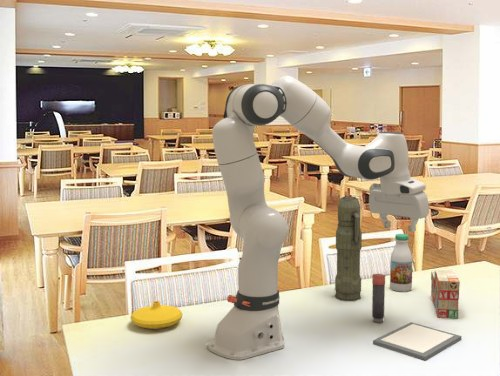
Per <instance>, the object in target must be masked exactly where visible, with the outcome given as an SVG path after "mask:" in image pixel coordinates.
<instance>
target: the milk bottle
mask: <svg viewBox="0 0 500 376" xmlns="http://www.w3.org/2000/svg"><path fill="white" fill-rule="evenodd" d="M409 237H410V236H409V235H408V234H406V233H397V234H395V238H394V239H395V244H394V247H393V250H392V251H391V255H390V265H389V288H390V290H391V291H395V292H404V293H405V292H410V291H411V290H412V287H413V254H412V252H411V250H410V249H411V248H410V246H409V240H410V239H409Z"/></svg>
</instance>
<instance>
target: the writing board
mask: <svg viewBox="0 0 500 376" xmlns="http://www.w3.org/2000/svg"><path fill="white" fill-rule="evenodd" d="M461 340H462V335H459V334H455V333H452V332H449V331H448V332H447V331H444V330H442V329H441V330H440V329H436V328H433V327H430V326H427V325H426V326H425V325H422V324H419V323H415V322H409V323H406V324H404V325H403V326H400V327H398V328H396V329H394V330H392V331H389V332H387V333H385V334H383V335H381V336H379V337H377V338H376V339H375V338H374V339H373V340H372V344H373V345H375V346H379V347H381V348H385V349H388V350H391V351H393V352H394V351H395V352H398V353H400V354H402V355H403V354H404V355H406V356H410V357H413V358H415V359H419V360H421V361H427V360H428V359H431V358H432V357H434V356H436V355H437V354H439V353H441V352H442V351H444V350H446V349H448V348H450V347H452V346H453V345H455V344H456V343H458V342H460V341H461ZM447 347H448V348H447Z"/></svg>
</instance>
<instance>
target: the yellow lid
mask: <svg viewBox="0 0 500 376" xmlns="http://www.w3.org/2000/svg"><path fill="white" fill-rule="evenodd" d="M182 317H183V312H182V311H181V309H180V308H178V307H177V306H173V305H166V304H165V305H164V304H161V302H160V301H159V300H157V301H153V302H152V305H148V306H143V307H140V308H137V309H136V310H134V311H133V312H132V314H131V315H130V320H131V323H132V324H133V325H134V326H137V327H141V328H143V329H148V330H158V329H165V328H170V327H171V326H174V325H175V324H177V323H179V322H180V321H181V320H182Z"/></svg>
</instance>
